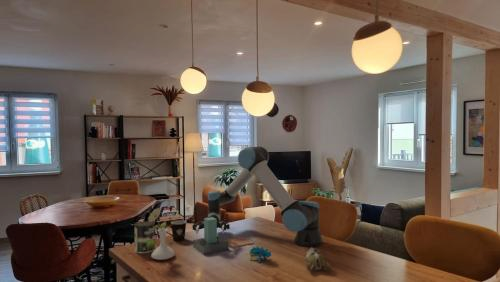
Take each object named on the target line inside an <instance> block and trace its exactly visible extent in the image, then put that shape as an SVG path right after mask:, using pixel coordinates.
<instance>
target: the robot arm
mask: <svg viewBox="0 0 500 282" xmlns="http://www.w3.org/2000/svg"><path fill="white" fill-rule="evenodd" d="M269 161H270V153H269V152H268V150H267V148H265V147H263V146H247V147H243V148H242V149H240V150H239V153H238V154H237V162H238V165H239V166H240V167H241V168H242V170H241V171H240V172H239V173H238V174H237V176H236V177H235V178H234V180H233V181H232V182H231V183H230V184H229V185H228V186H227V187H226V188H225V190H223V191H222V192H221V191H220V190H209V191H208V193H207V217H206V218H210V217H213V218H216V219H217V229H218V228H219V229H221V234H225V231H227V230H230V229H231V228H230V224H229V223H228V222H226V221H225V220H221V218H222V217H221V216H222V215H221V206H222V205H225V204H229V203H232V202H234V201H235V200H236V198H237V195H238V194H239V193H240V192H241V191H242V190H243V188H245V186H246V185H247V184H248V183H249V181H251V180H252V178H253V177H254V176H255V177H256V178H257V180H258V181H259V183H260V184H261V185H262V186H263V188H264V189H265V191H266V192H267V193H268V194H269V196H270V198H271V199H272V200H273V201H274V202H275V203H276V205H277V207H278V208H279V209H280V210H279V215H281V217H282V218H281V219H282V224H283V226H284V227H285V228H286V230H288V231H289V232H294V233H295V232H296V234H295V236H294V243H295V244H296V245H298V246H301V247H305V248H306V247H307V248H311V247H313V248H315V247H320V246H322V245H323V238H322V234H321V231H320V204H319V202H317V201H312V200H311V201H309V200H298V199H294V198H293V197H292V196H291V194H290V193H289V192H288V191H287V190H286V187H284V185H283V184H282V183H281V182H280V180H279V179H278V178H277V177H276V175H275V174H274V173H273V171H272V170H271V169H270V167H269V166H268V162H269ZM220 220H221V221H220ZM202 229H204V221H203V220H200V221H199V222H197V223H194V224H192V230H193V231H195V234H196V235H197V234H199V231H200V230H202Z"/></svg>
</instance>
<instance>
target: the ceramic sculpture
mask: <svg viewBox="0 0 500 282" xmlns="http://www.w3.org/2000/svg"><path fill="white" fill-rule="evenodd" d="M305 260H306V264H305V267H306V270H307V271H308V272H313V271H319V270H325V271H327V272H328V271H329V272H331V271H332V269H331V264H330V263H329V261H326V260H325V258H324V256H323V255H322V254H321V253H320V251H319V250H318V249H315V247H310V249H309V250H307V252H306V255H305Z"/></svg>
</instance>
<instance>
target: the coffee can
mask: <svg viewBox="0 0 500 282" xmlns="http://www.w3.org/2000/svg"><path fill="white" fill-rule="evenodd" d="M155 225H156V223H155V221H153V222H151V221H150V222H149V221H148V220H147V221H144V220H143V221H138V222H135V223H134V224H133V226H134V253H136V254H148V253H149V254H150V253H152V252H153V251H154V250H155V249H156V248H155V247H156V245H155V239H156V238H155V230H156V229H152V228H153V227H154V226H155Z"/></svg>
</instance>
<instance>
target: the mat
mask: <svg viewBox="0 0 500 282" xmlns="http://www.w3.org/2000/svg"><path fill="white" fill-rule="evenodd" d="M224 240H225V241H227V242H229V247H231V248H232V249H235V248H238V247H244V246H248V245H252V244H253V245H254V242H253V241H251V240H249V239H247V238H245V237H243V236H242V235H241V236H237V237H231V238H227V239H224Z"/></svg>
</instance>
